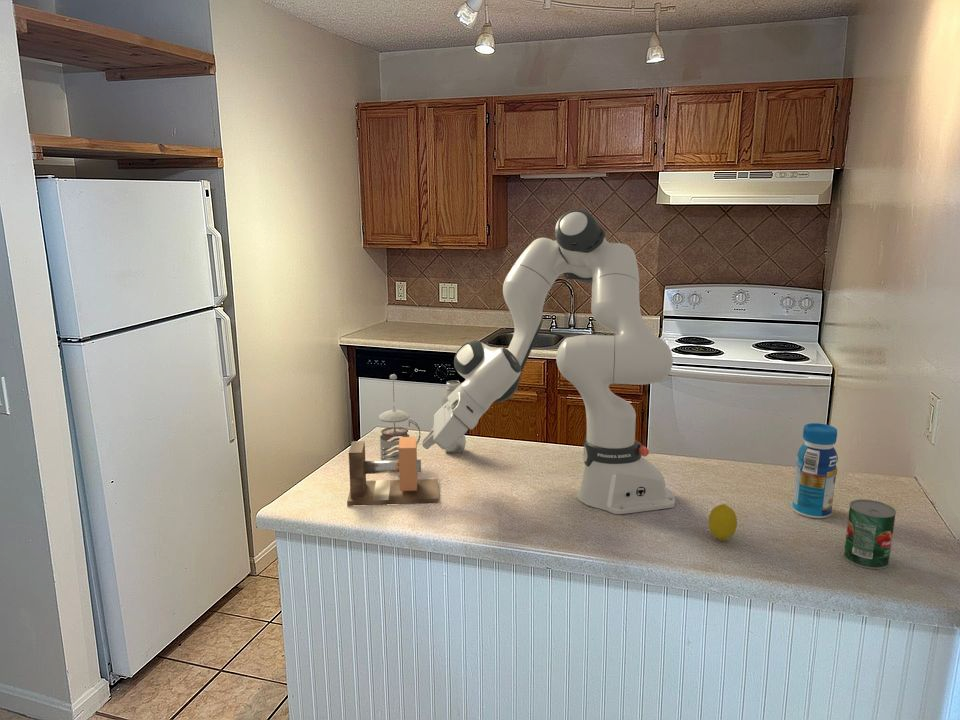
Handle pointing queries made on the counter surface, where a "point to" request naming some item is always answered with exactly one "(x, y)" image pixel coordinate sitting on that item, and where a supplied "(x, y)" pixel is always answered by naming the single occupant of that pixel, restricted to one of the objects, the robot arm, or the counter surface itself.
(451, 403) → the robot arm
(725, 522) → the lemon
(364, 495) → the pipe stand
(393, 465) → the steel pipe
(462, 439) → the plastic bottle
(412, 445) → the collar
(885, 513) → the canned tomato
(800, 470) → the beverage bottle
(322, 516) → the counter surface
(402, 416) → the french press
